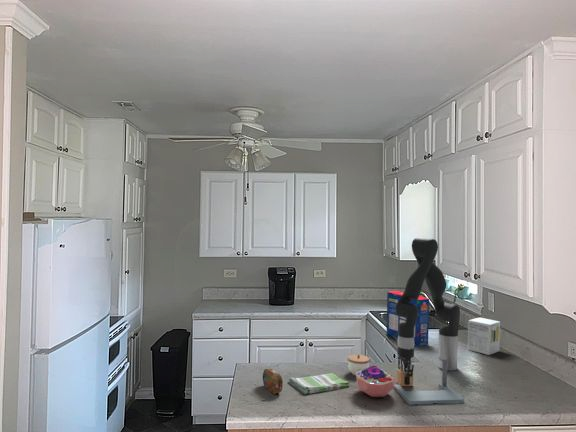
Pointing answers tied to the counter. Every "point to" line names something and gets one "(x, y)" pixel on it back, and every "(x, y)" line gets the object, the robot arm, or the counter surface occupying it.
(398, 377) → the tan wooden brick
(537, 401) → the counter surface
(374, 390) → the cell model
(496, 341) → the supplement box
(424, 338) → the blue cardboard box
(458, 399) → the screw clamp
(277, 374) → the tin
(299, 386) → the dish towel
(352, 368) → the lidded jar
